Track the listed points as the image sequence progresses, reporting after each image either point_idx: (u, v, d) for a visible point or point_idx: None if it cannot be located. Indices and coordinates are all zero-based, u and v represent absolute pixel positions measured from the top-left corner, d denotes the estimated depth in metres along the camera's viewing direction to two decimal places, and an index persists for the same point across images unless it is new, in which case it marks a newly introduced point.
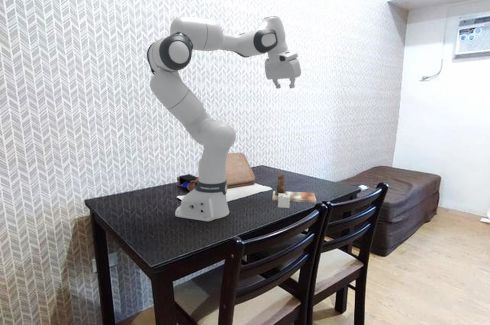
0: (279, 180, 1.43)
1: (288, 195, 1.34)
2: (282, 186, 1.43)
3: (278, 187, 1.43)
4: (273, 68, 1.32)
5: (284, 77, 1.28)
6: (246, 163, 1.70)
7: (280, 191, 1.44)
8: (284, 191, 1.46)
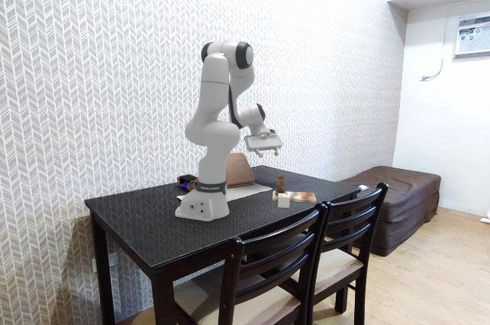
0: (279, 180, 1.43)
1: (288, 195, 1.34)
2: (282, 186, 1.43)
3: (278, 187, 1.43)
4: (258, 140, 1.53)
5: (272, 145, 1.54)
6: (246, 163, 1.70)
7: (280, 191, 1.44)
8: (284, 191, 1.46)
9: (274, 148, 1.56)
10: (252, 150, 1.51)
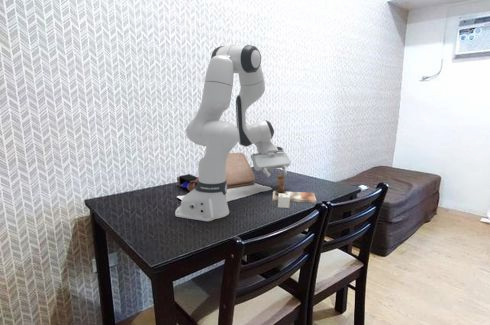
0: (279, 180, 1.43)
1: (288, 195, 1.34)
2: (282, 186, 1.43)
3: (278, 187, 1.43)
4: (266, 158, 1.48)
5: (280, 163, 1.49)
6: (246, 163, 1.70)
7: (280, 191, 1.44)
8: (284, 191, 1.46)
9: (282, 166, 1.51)
10: (260, 169, 1.45)
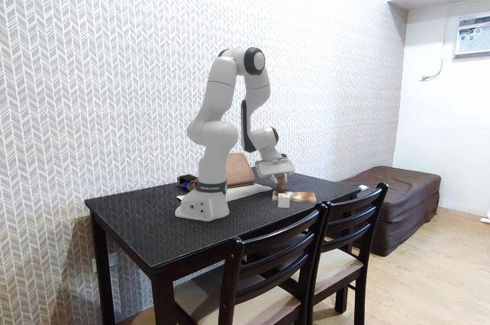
0: (279, 180, 1.43)
1: (288, 195, 1.34)
2: (282, 186, 1.43)
3: (278, 187, 1.43)
4: (269, 165, 1.45)
5: (284, 170, 1.46)
6: (246, 163, 1.70)
7: (280, 191, 1.44)
8: (284, 191, 1.46)
9: None
10: (263, 176, 1.42)
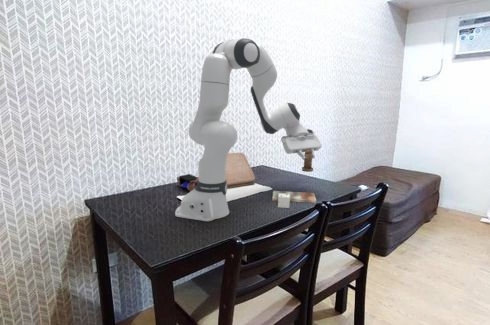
0: (307, 155, 1.39)
1: (288, 195, 1.34)
2: (310, 161, 1.39)
3: (306, 163, 1.40)
4: (296, 141, 1.41)
5: (311, 146, 1.43)
6: (246, 163, 1.70)
7: (308, 167, 1.40)
8: (311, 167, 1.42)
9: None
10: (291, 152, 1.39)
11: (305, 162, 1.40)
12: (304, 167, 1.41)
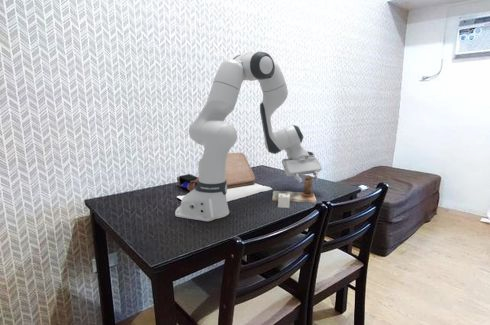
0: (307, 181, 1.41)
1: (288, 195, 1.34)
2: (310, 187, 1.42)
3: (306, 188, 1.42)
4: (297, 163, 1.44)
5: (311, 169, 1.45)
6: (246, 163, 1.70)
7: (308, 192, 1.42)
8: None
9: (313, 172, 1.47)
10: (291, 175, 1.41)
11: (305, 188, 1.42)
12: (304, 192, 1.43)
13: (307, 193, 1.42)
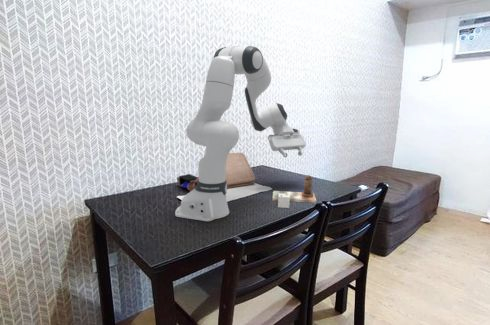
0: (307, 181, 1.41)
1: (288, 195, 1.34)
2: (310, 187, 1.42)
3: (306, 188, 1.42)
4: (282, 139, 1.52)
5: (296, 144, 1.53)
6: (246, 163, 1.70)
7: (308, 192, 1.42)
8: None
9: (297, 148, 1.55)
10: (276, 149, 1.50)
11: (305, 188, 1.42)
12: (304, 192, 1.43)
13: (307, 193, 1.42)
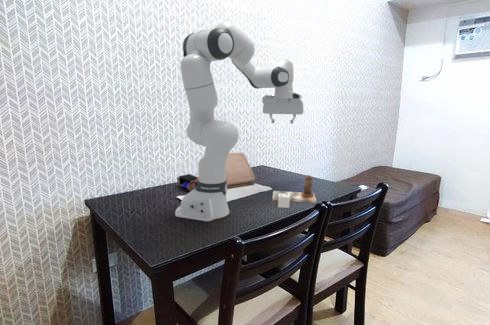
0: (307, 181, 1.41)
1: (288, 195, 1.34)
2: (310, 187, 1.42)
3: (306, 188, 1.42)
4: (276, 104, 1.46)
5: (289, 112, 1.46)
6: (246, 163, 1.70)
7: (308, 192, 1.42)
8: None
9: (293, 114, 1.48)
10: None
11: (305, 188, 1.42)
12: (304, 192, 1.43)
13: (307, 193, 1.42)
